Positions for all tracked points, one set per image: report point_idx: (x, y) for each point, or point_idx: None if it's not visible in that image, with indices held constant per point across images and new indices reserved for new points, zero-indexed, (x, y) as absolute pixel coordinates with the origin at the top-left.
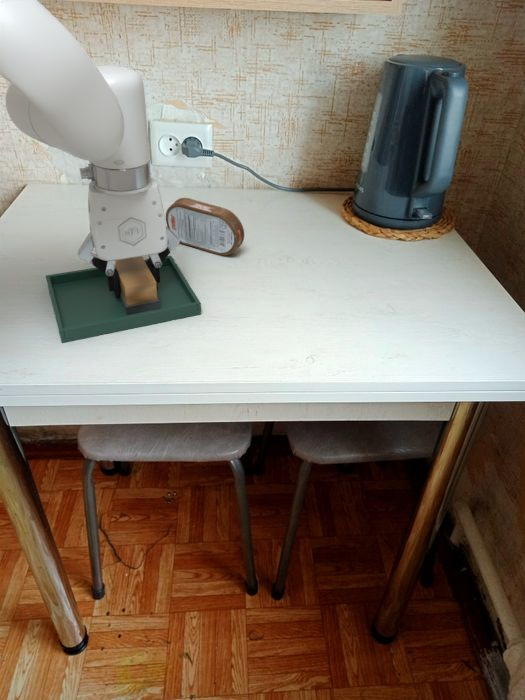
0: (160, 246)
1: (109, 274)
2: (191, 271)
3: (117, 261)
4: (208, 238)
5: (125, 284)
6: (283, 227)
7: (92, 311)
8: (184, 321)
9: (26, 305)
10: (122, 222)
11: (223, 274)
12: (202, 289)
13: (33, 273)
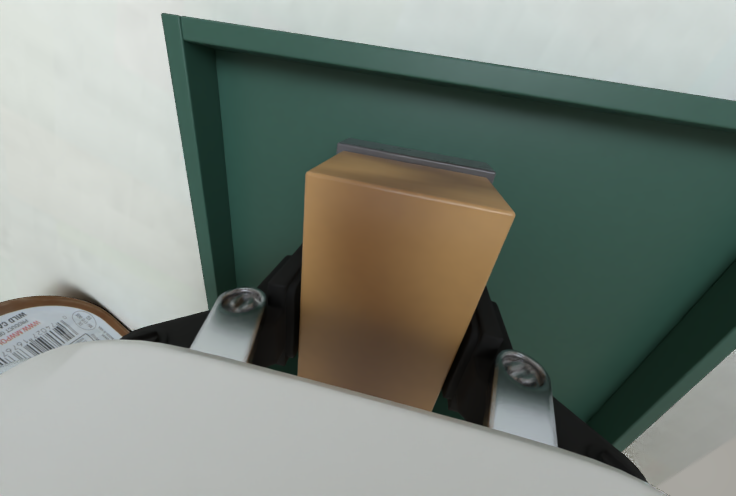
0: (42, 390)
1: (516, 360)
2: (193, 291)
3: None
4: None
5: (491, 239)
6: None
7: (583, 255)
8: (286, 12)
9: (707, 394)
10: None
11: (105, 232)
12: (177, 192)
13: None
